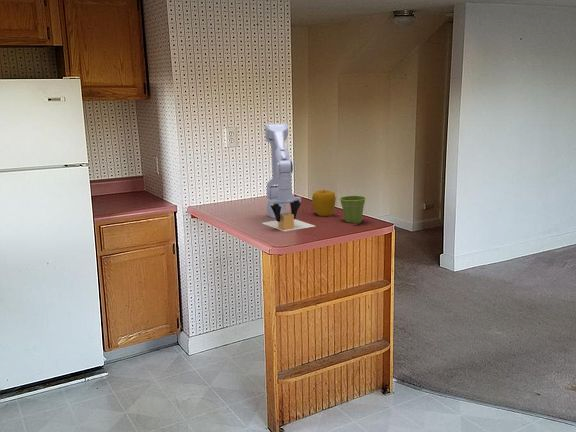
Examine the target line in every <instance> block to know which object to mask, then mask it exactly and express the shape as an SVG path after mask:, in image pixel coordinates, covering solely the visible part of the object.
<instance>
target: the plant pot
mask: <svg viewBox="0 0 576 432" xmlns="http://www.w3.org/2000/svg"><path fill="white" fill-rule="evenodd" d="M366 199H367V197H366V196H364V195H345V196H341V197H339V201H340V204H341V207H342V213H343V218H344V221H345V222H347V223H352V224H356V225H359V224H361V222H362V219H363V212H364V206H365V203H366Z"/></svg>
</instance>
